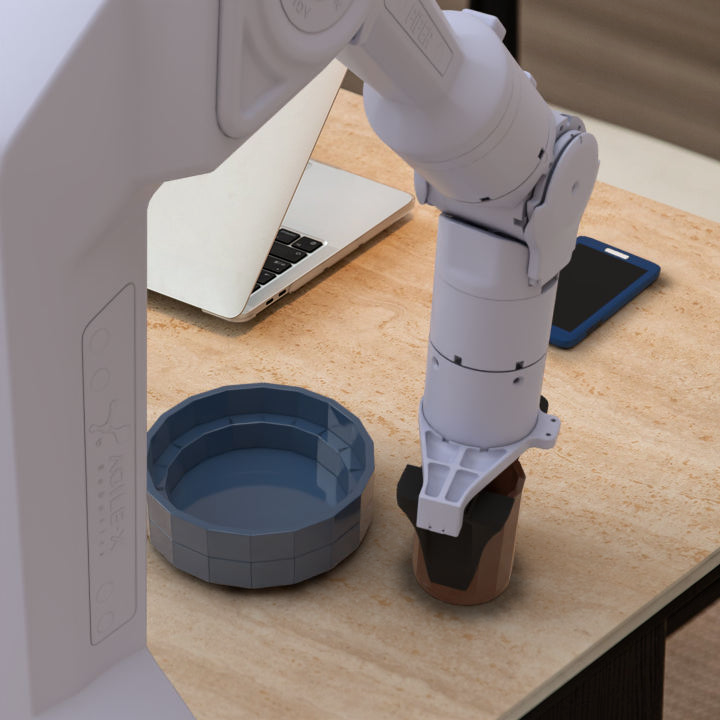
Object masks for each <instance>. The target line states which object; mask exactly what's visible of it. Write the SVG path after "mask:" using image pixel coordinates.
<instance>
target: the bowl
mask: <svg viewBox="0 0 720 720" xmlns="http://www.w3.org/2000/svg"><path fill="white" fill-rule="evenodd" d="M375 462H376V461H375V442H374V440H373V439H372V437H371V435H370V433H369V432H368V431H367V429H366V427H365V426H364V423H363V422H362V420H361V419H360V418H359V416H357V415H356V414H354V413H353V412H352V411H350V410H349V409H347V408H346V407H345V406H344V405H342V404H341V403H340V402H339V401H337V400H335V399H333V398H331V397H329V396H326V395H323V394H321V393H318V392H315V391H313V390H310V389H307V388H304V387H301V386H295V385H287V384H279V383H271V382H265V381H264V382H250V383H240V384H229V385H228V384H226V385H223V386H219V387H215V388H212V389H209V390H205V391H202V392H200V393H197V394H192V395H190V396H188V397H187V398H184V399H183V400H182V401H180V402H178V403H177V404H175V405H174V406H172V407H171V408H169V409H167V410H165V411H164V412H162V413H161V414H160V415H159V417H158V418H157V419H156V420H155V422H154V423H153V424H152V425H151V426H150V427H149V429H147V537H148V539H149V542H150V544H151V545H152V546H153V547H154V549H156V550H157V551H158V552H159V553H160V554H161V555H162V556H163V557H164V558H165V559H166V560H167V562H169V563H170V564H171V565H172V566H173V567H174V568H175V569H178V570H180V571H183V572H185V573H187V574H189V575H191V576H194V577H195V578H198V579H200V580H202V581H204V582H207V583H209V584H217V585H223V586H231V587H236V588H243V589H252V590H253V589H263V588H272V587H279V586H288V585H294V584H298V583H301V582H303V581H306V580H309V579H312V578H313V577H316V576H318V575H321V574H323V573H326V572H329V571H331V570H332V569H334V568H335V567H336V566H338V565H339V564H341V562H343V560H345V559H346V558H347V557H348V556H350V555H351V554H352V553H353V552H354V551H355V550H357V549H358V548H359V546H360V545H361V543H362V540H363V539H364V537H365V534H366V533H367V531H368V528H369V527H370V525H371V523H372V520H373V509H374V493H375V492H374V491H375V475H376V474H375V472H376V463H375Z"/></svg>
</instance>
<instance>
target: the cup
mask: <svg viewBox="0 0 720 720" xmlns="http://www.w3.org/2000/svg"><path fill="white" fill-rule="evenodd" d="M420 467H422V464H421V465H420ZM526 481H527V475H526V473H525V470H524V468H523V466H522V463H521V461H520V460H519V459H516V460H515V461H514V462H513V463H511V464H510V465H509V466H508V467H507V468H506V469H505V470H503V471H502V472H501V473H500V474H499V475H498V476H497V477H495V478H494V479H493V480H492V481H491V482H490V483H489V484H487V485H486V486H485V487H484V488H483V489H482V490H483V491H487V492H491V493H495V494H499V495H503V496H507V497H511V498H515V502H514V504H513V507H512V510H511V512H510V515H509V518H508V520H507V521H506V523H505V524H504V526H503V527H502V529H501V530H500V531H499V532H498V533H497V534H496V535H494V536H493V537H492V538H491V539H490V540H489V542H488V543H487V544H486V546H485V548H484V550H483V552H482V555H481V558H480V561H479V564H478V567H477V569H476V572H475V575H474V577H473V579H472V582H471V584H470V585H469V587H468V589H467V590H466V591H461V590H458V589H454V588H450V587H447V586H443V585H439V584H436V583H432V582H430V580H429V577H428V574H427V570H426V566H425V562H424V558H423V553H422V549H421V545H420V541H419V538H418V535H417V533H416V530H415V529H414V531H413V543H412V555H411V561H412V573H413V575H414V578H415V580H416V582H417V584H418V585H419V586H420V587H421V589H423V591H425V592H426V593H428V594H429V595H430V596H432V597H433V598H435V599H437V600H439V601H442V602H445V603H448V604H452V605H458V606H475V605H480V604H485V603H487V602H490V601H492V600H494V599H496V598H497V597H499V596H501V594H502V593H503V592H504V591H505V590H506V589H507V587H508V585H509V584H510V581H511V577H512V576H511V575H512V571H513V568H514V560H515V554H516V547H517V540H518V534H519V527H520V521H521V513H522V507H523V501H524V493H525V488H526V487H525V486H526Z"/></svg>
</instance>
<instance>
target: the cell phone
mask: <svg viewBox="0 0 720 720" xmlns="http://www.w3.org/2000/svg"><path fill="white" fill-rule="evenodd" d="M661 270H662V267H661V266H660V265H659V264H658V263H656V262H653V261H651V260H648V259H646V258H644V257H641V256H639V255H636V254H634V253H631V252H629V251H626V250H623V249H621V248H618V247H616V246H613V245H611V244H609V243H606V242H604V241H601V240H598V239H595V238H593V237H590V236H587V235H578V236H577V239H576V245H575V249H574V250H573V252H572V256H571V259H570V261H569V263H568V264H567V265H566V266H565V267H564V268H562V269H561V270H560V272H559V278H558V284H557V291H556V298H555V304H554V311H553V318H552V324H551V331H550V338H549V344H551V345H554V346H557V347H559V348H564V349H568V348H572V347H574V346H576V345H577V344H579V343H580V342H581V341H582V340H583V339H585V338H586V337H587V336H588V335H590V334H591V333H592V332H593V331H595V330H596V329H597V328H598V327H599V326H601V325H602V324H603V323H604V322H606V321H607V320H608V319H609V318H611V316H613V315H614V314H615V313H616V312H618V311H619V310H620V309H621V308H623V307H624V306H626V304H628V303H630V301H631V300H633V298H635V297H636V296H637V295H639V294H640V293H641V292H643V291H644V290H645V289H646V288H648V286H650V285H651V284H653V282H654V281H656V279H658V278H659V277H660V274H661Z"/></svg>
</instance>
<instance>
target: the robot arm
mask: <svg viewBox="0 0 720 720" xmlns="http://www.w3.org/2000/svg"><path fill="white" fill-rule="evenodd" d="M506 33H507V29H506V28H505V26H504V25H503V23H502V22H501V21H500V19H499V18H498V17H497V16H495V15H492V14H488V13H484V12H481V11H477V10H474V9H470V8H463V9H462V10H452V9H441V7H440V5H439V4H438V2H437V1H436V0H0V720H197V718H196V717H195V715H194V713H193V712H192V711H191V709H190V707H189V706H188V705H187V704H186V701H185V700H184V699H183V697H182V695H180V693H179V691H178V690H177V689H176V688H175V686H174V684H173V683H172V682H171V680H170V679H169V677H168V676H167V675H166V673H165V672H164V670H163V669H162V668H161V667H160V665H159V663H158V662H157V660H156V659H155V657H154V656H153V653H152V652H151V651H150V649H149V647H148V644H147V643H148V640H147V639H148V637H147V635H148V634H147V632H148V631H147V630H148V629H147V626H148V624H147V623H148V621H147V620H148V617H147V616H148V615H147V614H148V612H147V611H148V610H147V609H148V607H147V606H148V605H147V603H148V598H147V597H148V582H147V581H148V549H147V548H148V533H147V432H148V209H149V205H150V202H151V200H152V198H153V196H154V195H155V194H156V192H157V191H158V190H159V189H160V188H161V186H163V184H164V183H166V182H173V181H177V180H182V179H186V178H191V177H196V176H202V175H207V174H211V173H213V172H214V171H216V170H217V169H218V168H219V167H220V166H221V165H223V164H224V163H225V162H226V161H227V160H228V159H229V158H230V157H231V156H233V154H234V153H236V151H237V150H238V149H240V148H241V147H242V146H243V145H244V144H245V143H246V142H247V141H248V140H249V139H250V138H252V137H253V136H254V135H255V134H256V133H257V132H258V131H259V130H260V129H261V128H262V127H264V126H265V125H266V124H267V123H268V122H269V121H270V120H271V119H272V118H273V117H274V116H276V115H277V114H278V113H279V112H280V111H281V110H282V109H283V108H284V107H285V106H287V105H288V103H290V102H291V101H292V100H293V99H294V98H295V97H297V95H298V94H300V93H301V91H302V90H304V89H305V88H306V87H307V86H308V85H309V84H310V83H311V82H312V81H314V79H316V77H318V76H319V75H320V74H321V73H322V72H323V71H324V70H325V69H326V68H328V66H329V65H330V64H331V63H332V62H333V61H334V60H335V59H336V60H337V61H338V62H339V63H340V64H342V65H343V67H345V68H347V69H348V70H349V71H350V72H352V73H353V74H354V75H355V76H356V77H358V78H359V79H360V80H361V81H362V82H363V84H362V85H363V86H362V102H363V108H364V113H365V116H366V119H367V122H368V124H369V126H370V128H371V130H372V131H373V132H374V134H375V135H376V137H378V139H379V140H380V141H381V142H382V143H383V144H384V145H386V146H387V147H389V148H390V150H392V152H394V154H396V155H397V156H398V157H399V158H400V159H401V160H403V162H405V163H406V164H407V165H408V166H409V167H410V168H412V169H413V185H414V186H413V187H414V192H415V197H416V200H417V201H418V204H419V205H420V206H424V205H427V206H430V207H434V208H436V210H438V211H439V212H440V213H439V215H438V222H437V234H436V244H435V245H436V246H435V258H434V271H433V273H434V274H433V283H432V293H431V294H432V295H431V306H430V307H431V308H430V318H429V319H430V320H429V330H428V331H429V332H428V341H427V342H428V344H427V353H426V363H425V364H426V366H425V379H424V390H423V394H422V396H421V397H420V401H419V404H418V415H417V421H418V422H417V423H418V424H417V425H418V435H419V444H420V445H419V447H420V457H421V465H422V467H421V466H417V465H414V464H409V463H407V464H406V465H405V467H404V469H403V472H402V473H401V475H400V478H399V479H398V481H397V484H396V492H395V493H396V495H395V496H396V504H397V506H398V507H399V509H400V510H401V511H402V512H403V513H404V515H405V516H406V517H407V518H408V520H409V521H410V523H411V525H412V527H413V528H414V530H416V533H417V535H418V538H419V541H420V545H421V549H422V553H423V558H424V562H425V566H426V570H427V574H428V577H429V580H430V582H432V583H436V584H439V585H443V586H447V587H450V588H454V589H458V590H461V591H466V590H467V589H468V587H469V585H470V584H471V582H472V579H473V577H474V575H475V572H476V569H477V567H478V564H479V561H480V558H481V555H482V552H483V550H484V548H485V546H486V544H487V543H488V542H489V540H490V539H491V538H492V537H493V536H494V535H496V534H497V533H498V532H499V531H500V530H501V529H502V527H503V526H504V524H505V523H506V521H507V520H508V518H509V515H510V512H511V510H512V507H513V504H514V502H515V498H511V497H507V496H503V495H499V494H495V493H491V492H487V491H483V490H482V489H483V488H484V487H485V486H486V485H487V484H489V483H490V482H491V481H492V480H493V479H494V478H495V477H497V476H498V475H499V474H500V473H501V472H502V471H503V470H505V469H506V468H507V467H508V466H509V465H510V464H511V463H513V462H514V461H515V460H516V459H518V460H519V459H520V457H521V456H522V455H523V454H525V452H527V451H528V450H530V449H532V448H535V449H541V450H547V451H548V450H551V449H554V447H555V446H556V443H557V441H558V438H559V435H560V432H561V426H562V420H561V419H560V418H559V417H558V416H556V415H554V414H549V413H548V412H549V401H548V399H547V398H546V397H545V396H543V395H542V389H543V383H544V376H545V370H546V364H547V363H546V362H547V356H548V349H549V344H550V343H549V338H550V331H551V324H552V318H553V311H554V304H555V298H556V291H557V284H558V278H559V272H560V270H561V269H562V268H564V267H565V266H566V265H567V264H568V263H569V261H570V259H571V256H572V252H573V250H574V249H575V245H576V239H577V237H578V233H579V229H580V225H581V221H582V218H583V216H584V213H585V211H586V208H587V207H588V205H589V202H590V200H591V197H592V194H593V191H594V188H595V185H596V181H597V179H598V174H599V170H600V165H601V160H600V159H599V144H598V141H597V138H596V136H595V135H594V134H593V133H591V132H588V131H587V128H586V125H585V123H584V121H583V119H581V117H580V116H577V115H573V114H570V113H566V112H563V111H560V110H557V109H553V108H550V106H549V105H548V103H547V102H546V100H545V99H544V98H543V96H542V95H541V93H540V92H539V90H538V89H537V87H538V83H537V81H536V79H535V78H534V77H533V75H532V74H531V73H530V72H529V71H526V70H523V69H522V67H521V66H520V65H519V64H518V62H517V60H516V59H515V57H513V55H512V54H511V52H510V51H509V50H508V48H507V46H506V45H505V44H504V42H503V40H504V39H505V36H506Z"/></svg>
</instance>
